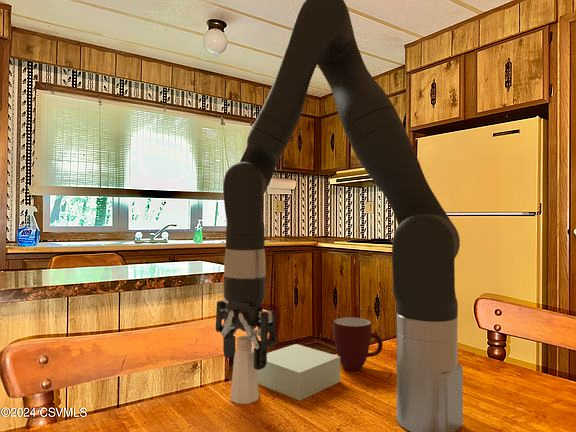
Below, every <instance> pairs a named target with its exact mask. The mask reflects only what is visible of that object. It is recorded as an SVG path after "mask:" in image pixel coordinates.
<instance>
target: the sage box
mask: <svg viewBox="0 0 576 432" xmlns="http://www.w3.org/2000/svg"><path fill="white" fill-rule="evenodd" d="M257 380H258V385H260V386H263V387H265V388H267V389H270V390H272V391H275V392H278V393H279V394H282V395H284V396H287V397H289V398H291V399H294V400H297V401H300V402H301V401H302V400H304V399H306V398H309V397H312V396H313V395H316V394H317V393H319V392H321V391H324V390H325V389H327V388H330V387H332V386H334V385H337V384H338V383H340V382H341V363H340V356H337V354H332V353H329V352H326V351H322V350H319V349H315V348H311V347H308V346H304V345H302V344H297V343H294V344H292V345H289V346H285V347H282V348H279V349H276V350H273V351H271V352H270V351H269V352H267V364H266V366H265V368H263V369H260V370H257Z"/></svg>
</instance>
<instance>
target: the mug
mask: <svg viewBox="0 0 576 432" xmlns="http://www.w3.org/2000/svg"><path fill="white" fill-rule="evenodd" d="M333 339H334V344H335V352H336V355H337V356H340V365H341V366H342V368H343V369H345V370H346V371H350V372H351V371H352V372H356V371H357V372H358V371H360V370H361V369H363V367H364V365H365V363H366V361H367V360H368V359H367V358H371V357H375V356H377V355H378V356H379V354H381V352H382V350H383V344H384V343H383V341H382V337H381V336H380V335H379V334H378V333H376V332H372V322H371V320H368V319H366V318H362V317H355V316H354V317H351V316H349V317H348V316H347V317H339V318H336V319H334V320H333ZM372 339H375V340H376V342H377V345H378V346H377V348H376V350H375V351H372V352H369V349H370V344H371V340H372Z"/></svg>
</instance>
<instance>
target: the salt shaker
mask: <svg viewBox="0 0 576 432" xmlns="http://www.w3.org/2000/svg"><path fill="white" fill-rule="evenodd" d="M236 342H237V345H236V346H237V349H235V355H234V356H233V363H232V364H233V366H232V375H231V388H230V395H229V396H230V398H229V400H230V402H232V403H235V404H237V405H249V404H253V403H256V402H257V401H258V400H259V396H260V392H259V391H260V390H259V384H258V380H257V370H256V369H254V349H252V348H253V347H252V346H253V342H252V339H251V338H249V337H248V336H247V335H240V336H238V337H237V338H236Z"/></svg>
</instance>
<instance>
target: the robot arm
mask: <svg viewBox="0 0 576 432" xmlns="http://www.w3.org/2000/svg"><path fill="white" fill-rule="evenodd" d="M292 27H293V28H292V31H291V34H290V37H289V41H288V43H287V45H286V48H285V52H284V54H283V58H282V59H281V60H282V61H281V64H280V66H279V68H278V70H277V74H276V76H275V78H274V81H273V84H272V86H271V88H270V91H269V93H268V95H267V96H266V97H267V98H266V99H265V102H264V103H263V106H262V108H261V109H260V112H259V113H258V115H257V117H256V119H255V121H254V123H253V125H252V127H251V129H250V131H249V134H248V136H247V140H246V148H245V151H244V153H243V155H242V157H241V159H240V160H239V162H236V163H234V164H233V165H231V166H230V167H229V168H228V169H227V170H226V172H225V175H224V177H223V185H222V186H223V189H222V191H223V203H224V213H225V219H226V225H225V226H226V228H225V254H224V260H223V261H224V263H223V267H224V268H223V299H222V300H217V301H216V310H215V311H216V313H215V315H216V317H215V331H216V332H217V333H220V335H221V337H222V338H223V341H222V343H223V344H222V345H223V346H222V349H223V356H224V358H227V359H229V358H234V355H235V351H236V341H237V338H236V336H235V335H236V333H237V331H238V330H240V331H242V332H245V333H246V336H248V337H249V338H251V339H252V345H253V346H254V348H253V350H254V369H256V370H260V369H263V368H265V366H266V364H267V353H268V348H269V347H272V346H275V345H276V344H277V330H276V329H277V327H276V324H277V323H276V320H277V319H276V311H275V310H273V309H271V310H264V309H263V305H262V303H263V301H264V300H265V298H266V280H267V279H266V277H267V275H266V271H267V270H266V268H267V267H266V265H267V262H266V259H267V258H266V253H265V252H266V251H265V243H266V242H265V235H266V234H265V230H266V229H265V223H264V219H263V195H264V194H265V193H266V191H267V189H268V187H269V185H270V183H271V181H272V179H273V175H274V173H275V172H276V168H277V165H278V163H279V160H280V158H281V157H282V154H283V153H284V151H285V150H286V148H287V147H288V144H289V142H290V140H291V138H292V136H293V135H294V132H295V130H296V129H297V128H296V127H297V126H298V123H299V121H300V118H301V116H302V112H303V108H304V105H305V103H306V102H305V101H306V98H307V93H308V90H309V86H310V84H311V80H312V77H313V75H314V72H315V70H316V68H317V66H318V69H319V70H320V72H321V73H322V75H323V76H324V78H325V80H326V81H327V84H328V86H329V88H330V90H331V92H332V95H333V100H334V102H335V103H334V104H335V107H336V112H337V114H338V117H339V120H340V123H341V125H342V128H343V131H344V132H345V135H346V138H347V139H348V142H349V143H350V145H351V148H352V150H353V152H354V155H355V156H356V158H357V160H358V161H359V163H360V164H361V166H362V167H363V168H364V170H365V171H366V173H367V174H368V176H369V177H370V178H371V180H372V181H373V182H374V184H375V185H376V186H377V187H378V189H379V191H381V193H383V196H384V197H385V198H386V201H387V202H388V204H389V206H390V208H391V210H392V213H393V215H394V217H395V220H396V222H397V225H398V226H397V227H396V229H395V231H394V235H393V238H392V245H391V263H392V264H391V265H392V266H391V267H392V291H393V297H394V299H395V300H394V301H395V303H396V421H397V424H398V425H400V426H401V427H402V428H404V429H405V430H407V431H409V432H457V431H458V430H459V429H460V428H462V427H463V423H464V421H463V419H464V417H463V416H464V415H463V411H464V410H463V407H464V406H463V405H464V404H463V401H464V399H463V396H464V394H463V392H464V391H463V390H464V389H463V388H464V387H463V383H464V381H463V379H464V378H463V372H464V371H463V365H462V364H460V363H458V360H459V359H458V315H459V314H458V313H459V311H458V308H459V307H458V305H459V304H458V299H457V296H456V295H457V294H456V288H455V286H456V285H455V279H456V277H455V275H456V274H455V273H456V272H455V259H456V257H457V256H458V253H459V251H460V247H461V246H460V244H461V243H460V241H461V240H460V239H461V238H460V235H459V232H458V230H457V228H456V226H455V225H454V223H453V222H452V220H451V218H450V217H449V216H448V213H446V211H445V210H444V208H443V206H442V205H441V203H440V201H439V200H438V199H437V197H436V196H435V194H434V193H435V192H433V191H432V189H431V187H430V185H429V183H428V181H427V179H426V176H425V174H424V172H423V169H422V167H421V164H420V160H419V159H418V156H417V154H416V151H415V149H414V146H413V144H412V142H411V139H410V137H409V135H408V133H407V131H406V128H405V126H404V124H403V121H402V120H401V118H400V115H399V114H398V111H397V109H396V108H395V106H394V104H393V102H392V101H391V99H390V98H389V96H388V94H387V93H386V92H385V90H383V88H382V86H380V84H379V83H378V82H377V80H375V78H374V77H373V76H372V75H371V73H370V72H369V70H368V68H367V66H366V65H365V63H364V59H363V57H362V54H361V52H360V50H359V46H358V43H357V41H356V40H357V39H356V37H355V33H354V28H353V25H352V20H351V16H350V11H349V8H348V6H347V4H346V2H345V1H344V0H304V2H303V3H302V4H301V6H300V8H299V9H298V13H297V15H296V19H295V21H294V24H293V26H292ZM222 323H223V324H222ZM256 328H257V329H256ZM268 335H269V336H268ZM259 338H260V339H259Z"/></svg>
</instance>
